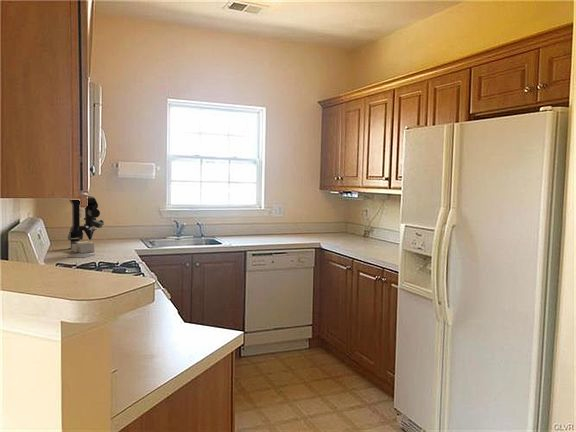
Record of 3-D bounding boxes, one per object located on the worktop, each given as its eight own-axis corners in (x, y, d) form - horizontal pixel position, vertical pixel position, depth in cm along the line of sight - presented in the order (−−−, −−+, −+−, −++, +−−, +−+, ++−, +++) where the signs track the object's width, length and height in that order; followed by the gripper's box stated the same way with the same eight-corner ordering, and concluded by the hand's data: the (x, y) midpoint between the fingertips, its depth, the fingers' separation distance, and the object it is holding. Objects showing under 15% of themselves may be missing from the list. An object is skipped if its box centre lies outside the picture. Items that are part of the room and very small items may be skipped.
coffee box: (81, 244, 322) (70, 241, 332) (81, 253, 322) (70, 250, 333) (94, 242, 328) (83, 240, 339) (94, 252, 329) (84, 249, 340)
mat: (78, 254, 319) (78, 253, 319) (95, 254, 318) (95, 254, 318) (67, 257, 308) (67, 256, 308) (84, 257, 306) (84, 257, 306)
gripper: (93, 218, 311) (93, 242, 313) (108, 215, 330) (108, 238, 331) (77, 217, 313) (77, 241, 314) (93, 215, 331) (93, 237, 333)
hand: (90, 239), depth 323 cm, fingers closed
